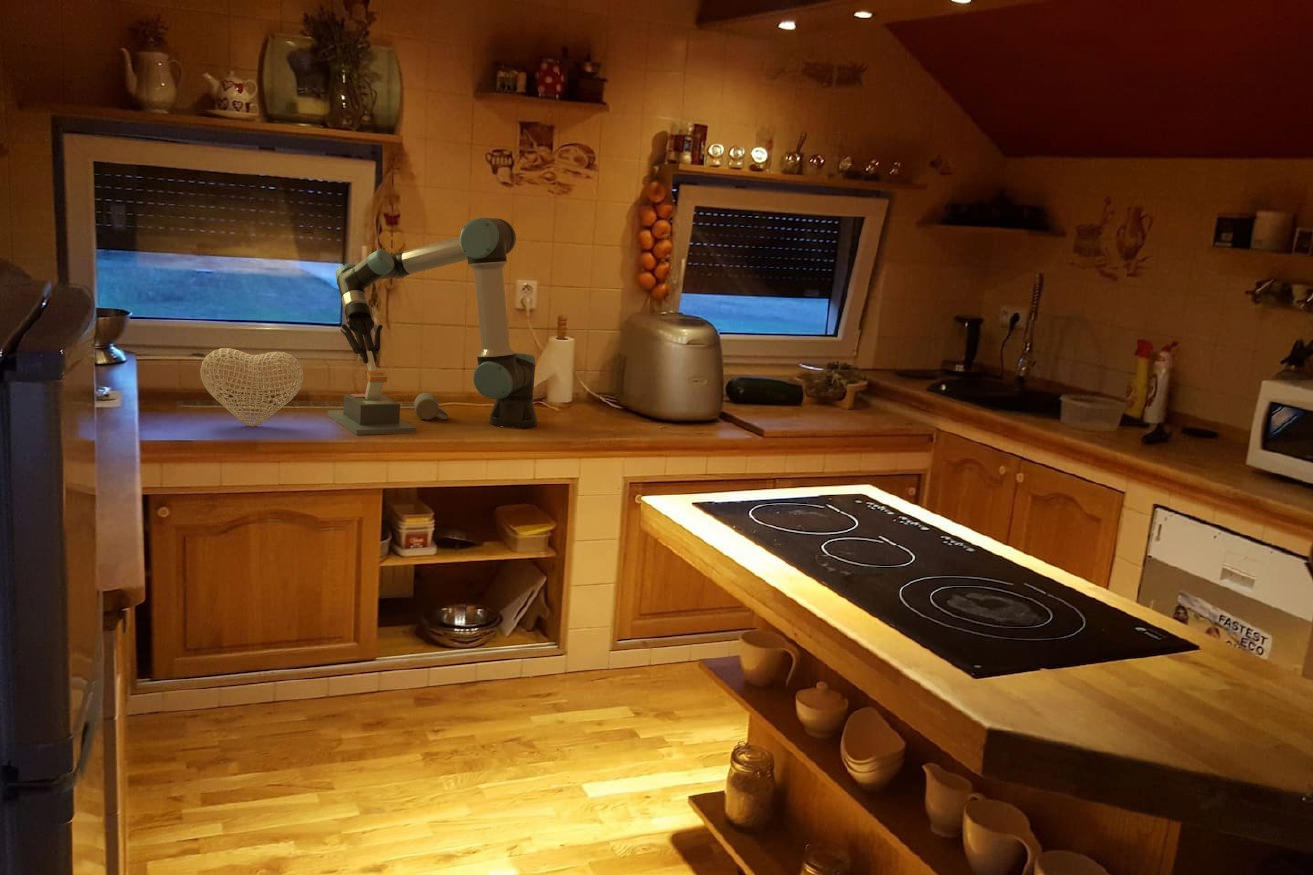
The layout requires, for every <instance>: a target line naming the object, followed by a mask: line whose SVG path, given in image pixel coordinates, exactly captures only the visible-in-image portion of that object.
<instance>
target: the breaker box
mask: <svg viewBox="0 0 1313 875" xmlns="http://www.w3.org/2000/svg"><path fill="white" fill-rule="evenodd" d="M400 412H401V403H399V402H397V401H395V400H393V399H391V398H390V397H387V396H386V395H384V394H383V393H381V396H380V399H378V400H367V399H366V397H365V393H351V394H343V409H339V410H338V409H337V410H334V409H333V410H327V416H328V417H330V418H331V419H333V420H334V421H336V423H338V424H340V425H341V426H342V427H344V428H345V429H347V430H348V431H349V432H352V433H353V434H354V435H355V436H361V435H362V436H363V435H366V434H367V435H368V434H369V435H384V434H385V435H387V434H390V433H393V434H411V433H413V432H416V433H417V427H416V426H414V425H412V424H411V423H409V422H407V421H406V420H404V419H402V418H400V417H401V416H400V415H401V413H400ZM413 434H414V433H413Z"/></svg>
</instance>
